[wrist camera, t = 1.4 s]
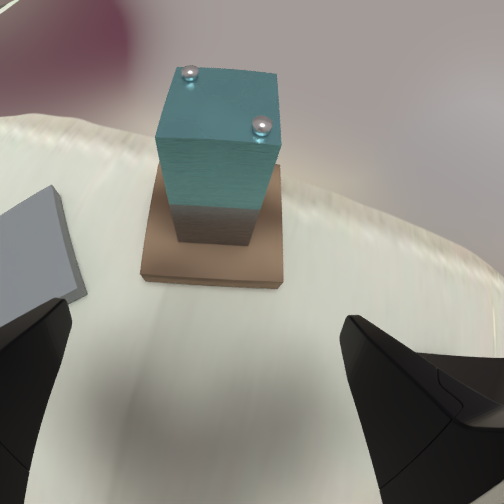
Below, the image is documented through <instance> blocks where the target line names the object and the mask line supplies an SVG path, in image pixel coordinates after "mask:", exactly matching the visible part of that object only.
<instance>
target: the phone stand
mask: <svg viewBox="0 0 504 504" xmlns="http://www.w3.org/2000/svg"><path fill="white" fill-rule="evenodd" d="M415 353H416V352H415ZM417 354H418V355H420V356H421V357H423V358H424V359H426V360H427V361H429V362H430V363H432V364H433V365H435V366H436V367H437V368H439V369H441V370H442V371H444V372H445V373H447V374H448V375H450V376H451V377H453V378H454V379H456V380H458V381H459V382H461V383H463V384H464V385H466V386H468V387H470V388H471V389H473V390H475V391H477V392H478V393H480V394H482V395H484V396H486V397H487V398H489V399H491V400H493V401H494V402H497V403H499V404H502V405H504V358H484V357H465V356H451V355H438V354H427V353H417Z"/></svg>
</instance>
